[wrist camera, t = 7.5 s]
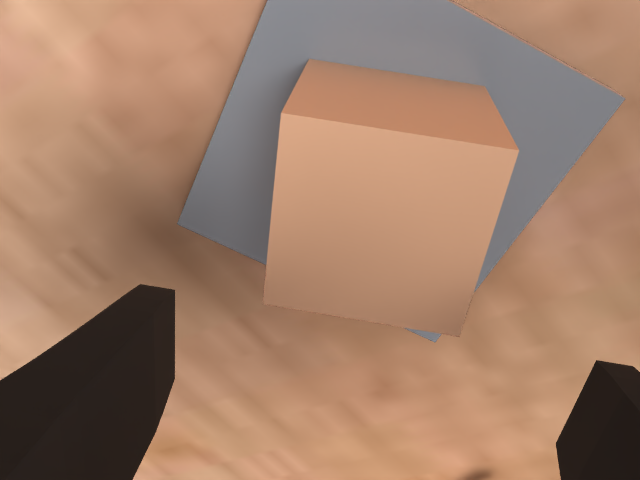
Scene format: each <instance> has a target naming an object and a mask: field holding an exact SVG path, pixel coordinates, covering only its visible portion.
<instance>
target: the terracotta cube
mask: <svg viewBox="0 0 640 480" xmlns="http://www.w3.org/2000/svg"><path fill="white" fill-rule="evenodd" d="M518 153H519V149H518V147H517V145H516V144H515V142H514V140H513V138H512V136H511V134H510V132H509V130H508V129H507V127H506V125H505V123H504V121H503V119H502V117H501V115H500V114H499V112H498V110H497V108H496V106H495V104H494V102H493V100H492V99H491V97H490V95H489V93H488V91H487V89H486V87H485V86H481V85H475V84H468V83H462V82H456V81H449V80H443V79H436V78H430V77H423V76H417V75H411V74H404V73H398V72H391V71H385V70H378V69H372V68H366V67H359V66H353V65H346V64H340V63H333V62H327V61H321V60H314V59H309V60H308V62H307V64H306V66H305V68H304V70H303V72H302V73H301V75H300V77H299V79H298V81H297V83H296V85H295V87H294V89H293V91H292V93H291V95H290V97H289V99H288V100H287V102H286V104H285V106H284V108H283V110H282V112H281V119H280V129H279V139H278V150H277V160H276V170H275V181H274V191H273V201H272V211H271V222H270V232H269V242H268V253H267V263H266V273H265V284H264V294H263V304H264V305H270V306H276V307H282V308H288V309H294V310H300V311H306V312H312V313H318V314H324V315H330V316H336V317H343V318H349V319H355V320H361V321H367V322H373V323H379V324H385V325H391V326H397V327H403V328H409V329H415V330H421V331H427V332H433V333H439V334H445V335H451V336H457V337H460V334H461V330H462V327H463V324H464V321H465V318H466V315H467V312H468V309H469V306H470V302H471V299H472V296H473V293H474V290H475V287H476V284H477V281H478V278H479V274H480V271H481V268H482V265H483V262H484V259H485V256H486V253H487V249H488V246H489V243H490V240H491V237H492V234H493V231H494V228H495V225H496V221H497V218H498V215H499V212H500V209H501V206H502V203H503V200H504V197H505V193H506V190H507V187H508V184H509V181H510V178H511V175H512V172H513V168H514V165H515V162H516V159H517V156H518Z"/></svg>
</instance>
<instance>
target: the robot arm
mask: <svg viewBox="0 0 640 480" xmlns="http://www.w3.org/2000/svg"><path fill="white" fill-rule="evenodd" d="M174 379H175V290H172V289H166V288H160V287H154V286H148V285H142V284H140V285H138V286H137V287H135V288H134V289H133V290H131V291H130V292H128V293H127V294H125V295H124V296H122V297H121V298H120V299H118V300H117V301H116V302H114V303H113V304H111V305H110V306H109V307H107V308H106V309H105V310H103V311H102V312H100V313H99V314H98V315H96V316H95V317H94V318H92V319H91V320H89V321H88V322H87V323H85V324H84V325H82V326H81V327H80V328H78V329H77V330H76V331H74V332H73V333H71V334H70V335H68V336H67V337H65V338H64V339H63V340H61V341H60V342H58V343H57V344H55V345H54V346H52V347H51V348H49V349H48V350H47V351H45V352H44V353H42V354H41V355H39V356H38V357H36V358H35V359H33V360H32V361H30V362H29V363H27V364H26V365H24V366H22V367H21V368H19V369H18V370H16V371H14V372H13V373H11V374H10V375H8V376H7V377H5V378H3V379H2V380H0V480H132V479H133V477H134V475H135V473H136V471H137V469H138V467H139V465H140V463H141V461H142V459H143V457H144V455H145V453H146V451H147V449H148V447H149V445H150V443H151V441H152V439H153V437H154V435H155V433H156V430H157V427H158V425H159V422H160V419H161V416H162V414H163V411H164V408H165V405H166V403H167V400H168V397H169V394H170V391H171V388H172V385H173V382H174ZM556 448H557V455H558V462H559V469H560V476H561V480H640V372H639V371H638V370H637V369H635V368H634V367H633V366H627V365H621V364H616V363H610V362H604V361H598V360H596V362H595V364H594V366H593V368H592V370H591V373H590V375H589V377H588V379H587V381H586V383H585V385H584V387H583V389H582V391H581V393H580V395H579V397H578V399H577V401H576V403H575V405H574V407H573V409H572V411H571V414H570V416H569V418H568V420H567V422H566V424H565V426H564V428H563V430H562V432H561V434H560V436H559V438H558V440H557V442H556Z"/></svg>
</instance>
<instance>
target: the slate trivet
mask: <svg viewBox="0 0 640 480" xmlns="http://www.w3.org/2000/svg"><path fill="white" fill-rule="evenodd" d="M309 59H314V60H321V61H327V62H333V63H340V64H346V65H353V66H359V67H366V68H372V69H378V70H385V71H391V72H398V73H404V74H411V75H417V76H423V77H430V78H436V79H443V80H449V81H456V82H462V83H468V84H475V85H481V86H485V87H486V89H487V91H488V93H489V95H490V97H491V99H492V100H493V102H494V104H495V106H496V108H497V110H498V112H499V114H500V115H501V117H502V119H503V121H504V123H505V125H506V127H507V129H508V130H509V132H510V134H511V136H512V138H513V140H514V142H515V144H516V145H517V147H518V149H519V153H518V156H517V159H516V162H515V165H514V168H513V172H512V175H511V178H510V181H509V184H508V187H507V190H506V193H505V197H504V200H503V203H502V206H501V209H500V212H499V215H498V218H497V221H496V225H495V228H494V231H493V234H492V237H491V240H490V243H489V246H488V249H487V253H486V256H485V259H484V262H483V265H482V268H481V271H480V274H479V278H478V281H477V284H476V287H475V290H474V292H475V291H476V289H477V288H478V287H479V286H480V284H481V283H482V282H483V280H484V279H485V278H486V277H487V275H488V274H489V273H490V271H491V270H492V269H493V268H494V266H495V265H496V264H497V263H498V261H499V260H500V259H501V257H502V256H503V255H504V254H505V252H506V251H507V250H508V248H509V247H510V246H511V245H512V243H513V242H514V241H515V239H516V238H517V237H518V236H519V234H520V233H521V232H522V231H523V229H524V228H525V227H526V225H527V224H528V223H529V222H530V220H531V219H532V218H533V216H534V215H535V214H536V213H537V211H538V210H539V209H540V207H541V206H542V205H543V204H544V202H545V201H546V200H547V199H548V197H549V196H550V195H551V193H552V192H553V191H554V190H555V188H556V187H557V186H558V184H559V183H560V182H561V181H562V179H563V178H564V177H565V175H566V174H567V173H568V172H569V170H570V169H571V168H572V167H573V165H574V164H575V163H576V161H577V160H578V159H579V158H580V156H581V155H582V154H583V152H584V151H585V150H586V149H587V147H588V146H589V145H590V143H591V142H592V141H593V140H594V138H595V137H596V136H597V134H598V133H599V132H600V131H601V129H602V128H603V127H604V126H605V124H606V123H607V122H608V120H609V119H610V118H611V117H612V115H613V114H614V113H615V111H616V110H617V109H618V108H619V106H620V105H621V104H622V102H623V101H624V100H625V98H624V97H623V96H622V95H620V94H619V93H618V92H617V91H615V90H614V89H612V88H610V87H608V86H606V85H604V84H603V83H601V82H599V81H597V80H595V79H594V78H592V77H590V76H588V75H586V74H585V73H583V72H581V71H579V70H577V69H575V68H574V67H572V66H570V65H568V64H566V63H565V62H563V61H561V60H559V59H557V58H556V57H554V56H552V55H550V54H548V53H546V52H545V51H543V50H541V49H539V48H537V47H536V46H534V45H532V44H530V43H528V42H527V41H525V40H523V39H521V38H519V37H517V36H516V35H514V34H512V33H510V32H508V31H507V30H505V29H503V28H501V27H499V26H498V25H496V24H494V23H492V22H490V21H488V20H487V19H485V18H483V17H481V16H479V15H478V14H476V13H474V12H472V11H470V10H469V9H467V8H465V7H463V6H461V5H460V4H458V3H456V2H454V1H452V0H267V3H266V5H265V8H264V10H263V13H262V15H261V17H260V20H259V22H258V25H257V27H256V30H255V32H254V35H253V37H252V40H251V42H250V45H249V47H248V50H247V52H246V55H245V57H244V60H243V62H242V65H241V67H240V69H239V72H238V74H237V77H236V79H235V82H234V84H233V87H232V89H231V92H230V94H229V97H228V99H227V102H226V104H225V107H224V109H223V112H222V114H221V116H220V119H219V121H218V124H217V126H216V129H215V131H214V134H213V136H212V139H211V141H210V144H209V146H208V149H207V151H206V154H205V156H204V159H203V161H202V163H201V166H200V168H199V171H198V173H197V176H196V178H195V181H194V183H193V186H192V188H191V191H190V193H189V196H188V198H187V201H186V203H185V206H184V208H183V210H182V213H181V215H180V218H179V220H178V223H177V224H178V225H180V226H182V227H184V228H186V229H188V230H191V231H193V232H195V233H197V234H199V235H202V236H204V237H206V238H208V239H210V240H212V241H215V242H217V243H219V244H221V245H223V246H226V247H228V248H230V249H232V250H234V251H237V252H239V253H241V254H243V255H245V256H247V257H250V258H252V259H254V260H256V261H258V262H261V263H263V264H265V265H266V263H267V253H268V242H269V232H270V222H271V211H272V201H273V191H274V181H275V170H276V160H277V150H278V139H279V129H280V119H281V112H282V110H283V108H284V106H285V104H286V102H287V100H288V99H289V97H290V95H291V93H292V91H293V89H294V87H295V85H296V83H297V81H298V79H299V77H300V75H301V73H302V72H303V70H304V68H305V66H306V64H307V62H308V60H309ZM405 329H407V330H409V331H411V332H414V333H416V334H418V335H420V336H422V337H424V338H427V339H429V340H431V341H433V342H436V341H437V339H438V338H439V337H440V335H441V334H439V333H433V332H427V331H421V330H415V329H409V328H405Z"/></svg>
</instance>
